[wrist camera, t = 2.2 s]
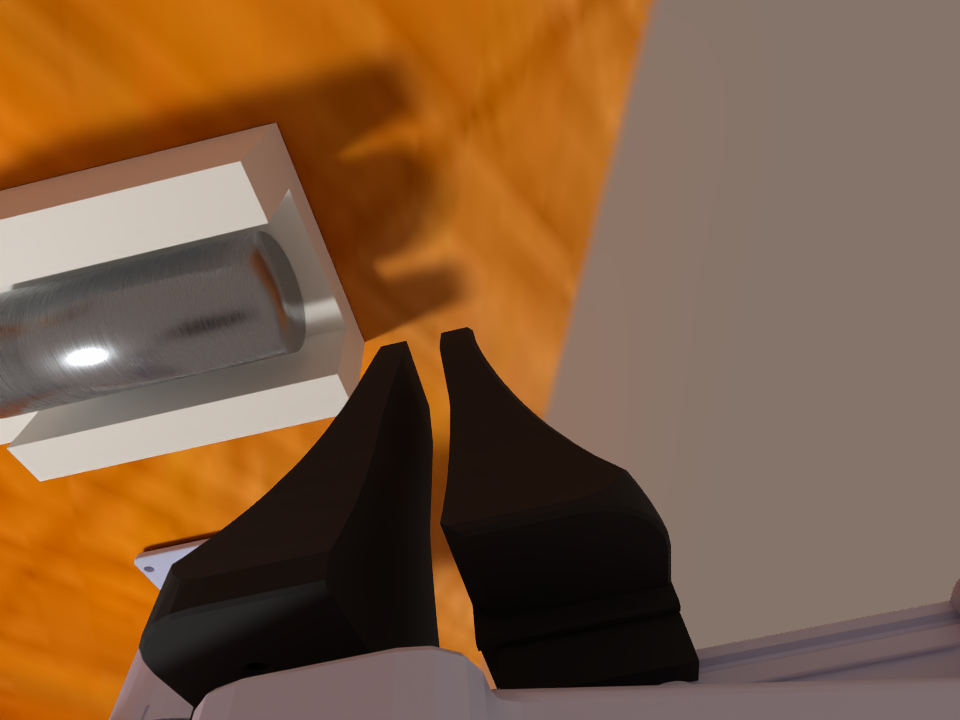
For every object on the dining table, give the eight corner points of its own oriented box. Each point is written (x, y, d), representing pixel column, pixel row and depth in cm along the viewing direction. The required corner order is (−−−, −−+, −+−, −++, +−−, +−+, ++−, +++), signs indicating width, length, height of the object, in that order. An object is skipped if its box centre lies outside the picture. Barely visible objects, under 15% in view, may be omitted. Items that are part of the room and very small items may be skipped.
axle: (270, 215, 19) (233, 257, 15) (313, 319, 21) (290, 376, 17) (-8, 281, 19) (-104, 337, 16) (62, 376, 21) (-10, 443, 18)
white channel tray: (364, 342, 23) (354, 411, 20) (-74, 442, 24) (-161, 525, 21) (276, 122, 18) (240, 161, 15) (-277, 259, 19) (-442, 328, 15)
